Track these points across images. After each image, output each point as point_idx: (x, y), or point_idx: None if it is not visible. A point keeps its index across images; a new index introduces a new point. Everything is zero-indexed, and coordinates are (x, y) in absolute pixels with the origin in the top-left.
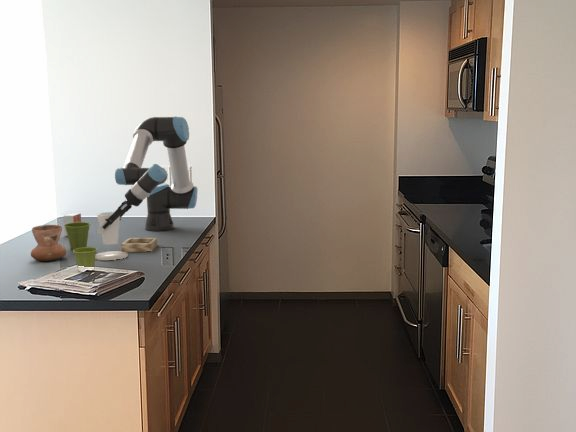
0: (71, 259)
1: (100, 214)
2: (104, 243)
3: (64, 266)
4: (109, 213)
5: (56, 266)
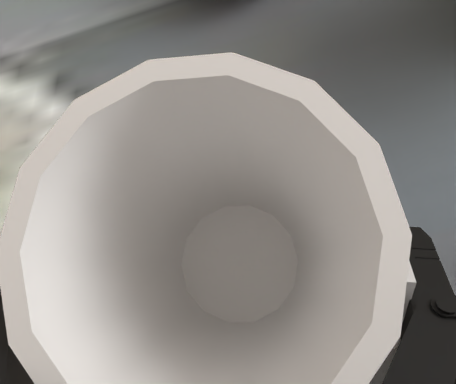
0: (215, 42)
1: (248, 93)
2: (195, 224)
3: (59, 56)
4: (369, 221)
5: (66, 17)
